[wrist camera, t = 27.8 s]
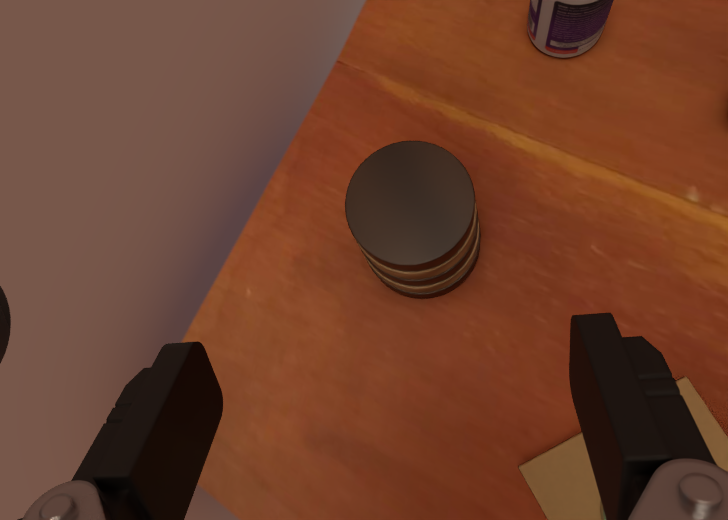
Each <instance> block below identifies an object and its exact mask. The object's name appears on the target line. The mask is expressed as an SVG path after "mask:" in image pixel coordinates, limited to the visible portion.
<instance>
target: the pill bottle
mask: <svg viewBox="0 0 728 520" xmlns="http://www.w3.org/2000/svg"><path fill="white" fill-rule="evenodd" d="M612 3H613V0H530V7H529V14H528V25H527V27H528V33H529V37H530V39H531V41H532V42H533V44H534V45H535V46H536V47H537V48H538V49H539V50H541V51H542V52H544V53H546V54H548V55H551V56H554V57H561V58H566V57H573V56H577V55H580V54H582V53H584V52H585V51H587V50H589V49H590V48H591V47H592V46H593V45H594V44H595V43H596V42H597V40H598V39H599V37H600V35H601V33H602V31H603V29H604V26H605V23H606V20H607V17H608V14H609V11H610V9H611V6H612Z"/></svg>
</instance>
